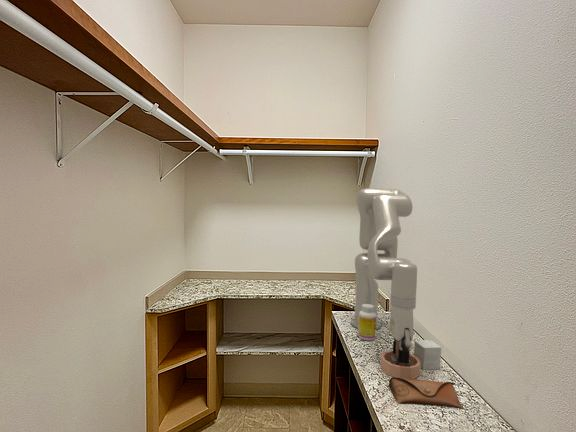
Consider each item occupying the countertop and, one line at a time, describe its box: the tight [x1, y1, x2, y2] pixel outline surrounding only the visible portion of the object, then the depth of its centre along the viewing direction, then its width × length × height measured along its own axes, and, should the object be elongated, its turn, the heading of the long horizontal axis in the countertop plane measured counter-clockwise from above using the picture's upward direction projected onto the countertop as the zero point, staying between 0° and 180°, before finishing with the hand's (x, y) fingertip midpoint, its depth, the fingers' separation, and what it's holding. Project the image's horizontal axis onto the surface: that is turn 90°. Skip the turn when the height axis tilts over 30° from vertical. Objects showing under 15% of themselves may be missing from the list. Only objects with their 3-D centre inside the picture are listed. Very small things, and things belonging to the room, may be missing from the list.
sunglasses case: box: [388, 377, 464, 410], centre depth 91 cm, size 18×7×7 cm
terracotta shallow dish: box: [380, 350, 422, 380], centre depth 106 cm, size 12×12×4 cm
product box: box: [413, 339, 442, 371], centre depth 109 cm, size 6×6×7 cm
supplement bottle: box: [357, 304, 377, 341], centre depth 131 cm, size 7×7×13 cm
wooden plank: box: [395, 338, 405, 366], centre depth 105 cm, size 4×2×10 cm, turn 176°
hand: (400, 357), depth 105 cm, fingers open, 5 cm apart
